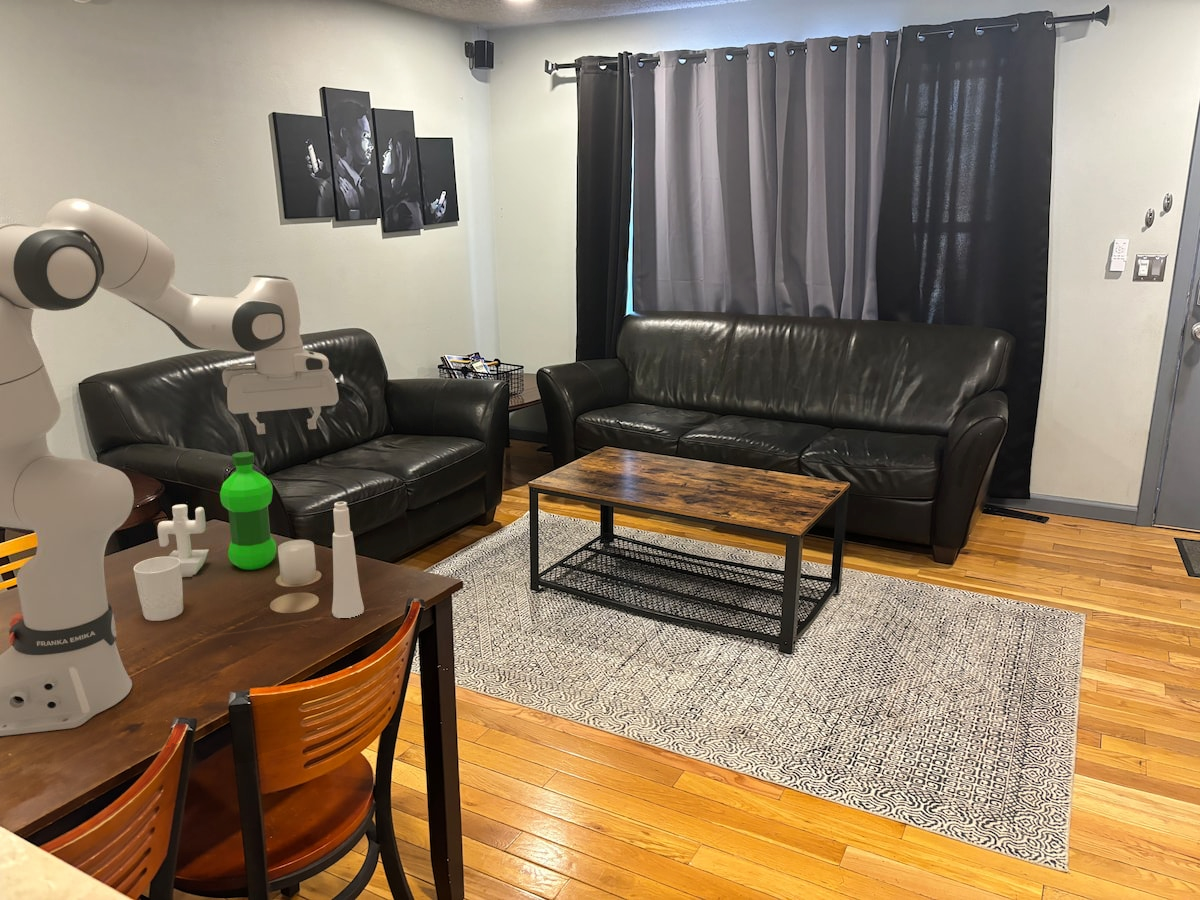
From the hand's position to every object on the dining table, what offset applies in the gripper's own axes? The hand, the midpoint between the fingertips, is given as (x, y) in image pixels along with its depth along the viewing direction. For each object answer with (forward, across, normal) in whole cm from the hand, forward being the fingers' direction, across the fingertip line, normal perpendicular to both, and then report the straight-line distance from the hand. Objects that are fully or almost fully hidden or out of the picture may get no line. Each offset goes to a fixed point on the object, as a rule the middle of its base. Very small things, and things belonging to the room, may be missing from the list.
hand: (287, 430), depth 168 cm
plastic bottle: (+33, -9, +12) cm, 36 cm away
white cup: (+32, -26, -5) cm, 41 cm away
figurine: (+32, -22, +14) cm, 42 cm away
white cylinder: (+32, -1, +1) cm, 32 cm away
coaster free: (+32, -2, -11) cm, 34 cm away
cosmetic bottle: (+32, +6, -18) cm, 37 cm away
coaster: (+32, -1, +1) cm, 32 cm away
